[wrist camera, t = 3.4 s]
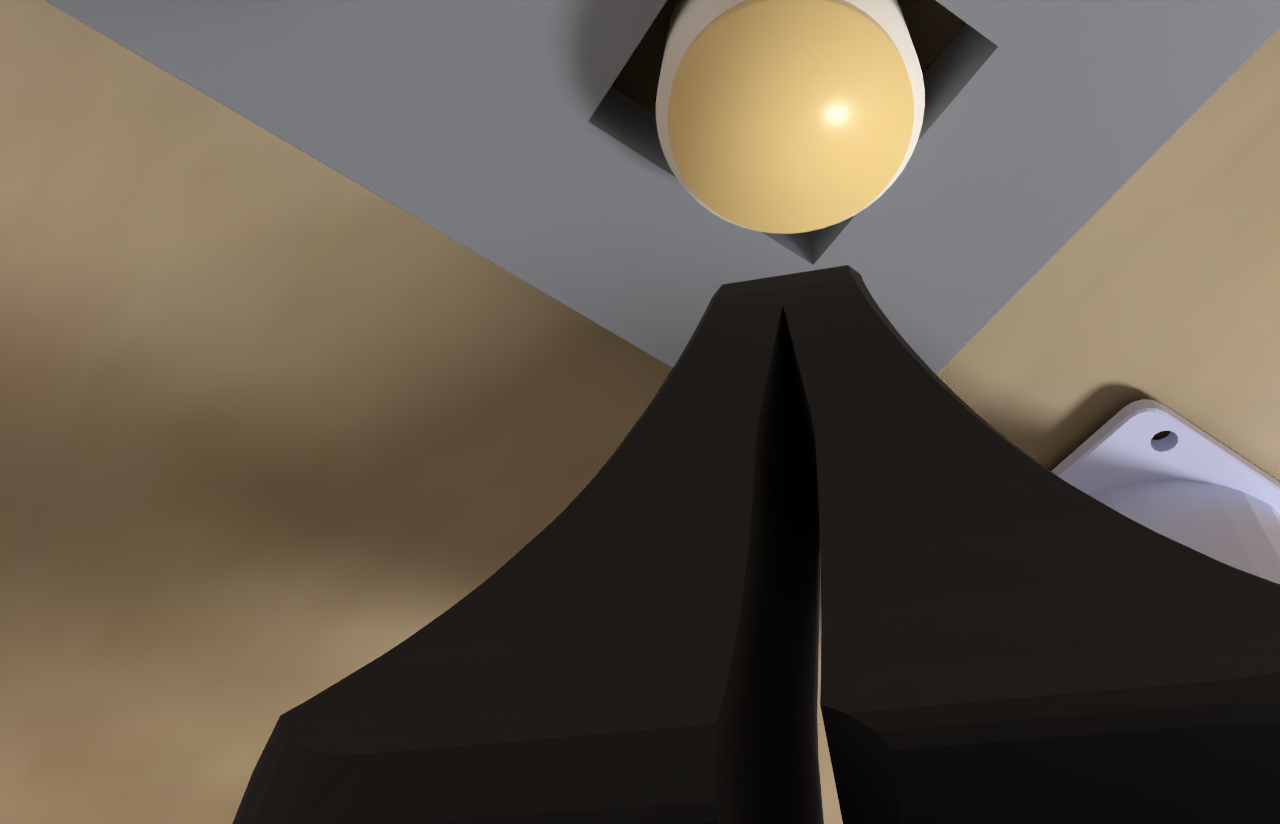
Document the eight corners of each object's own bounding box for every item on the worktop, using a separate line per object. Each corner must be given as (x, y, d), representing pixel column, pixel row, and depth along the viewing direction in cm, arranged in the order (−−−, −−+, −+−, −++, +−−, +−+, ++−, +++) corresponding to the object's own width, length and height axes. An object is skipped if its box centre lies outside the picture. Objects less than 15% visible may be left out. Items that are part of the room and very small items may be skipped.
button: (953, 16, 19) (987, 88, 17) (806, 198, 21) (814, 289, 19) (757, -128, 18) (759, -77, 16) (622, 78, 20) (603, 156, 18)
